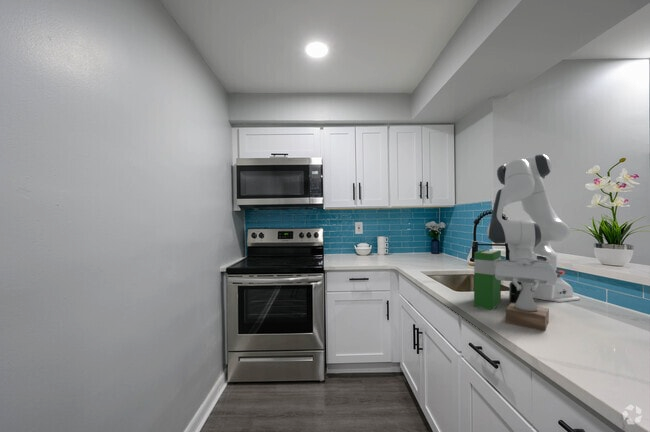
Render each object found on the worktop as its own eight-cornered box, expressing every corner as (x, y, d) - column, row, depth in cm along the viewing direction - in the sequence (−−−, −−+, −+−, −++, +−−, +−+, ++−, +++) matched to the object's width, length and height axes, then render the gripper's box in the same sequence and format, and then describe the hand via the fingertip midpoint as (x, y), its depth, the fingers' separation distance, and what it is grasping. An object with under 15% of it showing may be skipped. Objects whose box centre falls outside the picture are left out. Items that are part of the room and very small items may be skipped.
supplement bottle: (507, 302, 136) (507, 276, 136) (510, 299, 141) (510, 274, 141) (525, 305, 131) (525, 279, 131) (527, 302, 136) (528, 276, 136)
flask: (542, 312, 106) (542, 285, 107) (520, 311, 107) (520, 284, 108) (530, 306, 114) (531, 280, 114) (510, 305, 115) (511, 280, 115)
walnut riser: (511, 314, 119) (511, 302, 119) (548, 321, 111) (548, 308, 111) (505, 322, 110) (505, 309, 110) (545, 330, 102) (545, 316, 102)
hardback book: (483, 298, 143) (483, 249, 144) (500, 300, 139) (500, 250, 139) (474, 306, 130) (474, 252, 130) (492, 309, 125) (493, 254, 125)
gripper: (493, 254, 121) (495, 282, 113) (554, 258, 112) (561, 289, 104) (492, 264, 125) (494, 291, 117) (551, 268, 116) (558, 298, 108)
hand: (526, 290), depth 110 cm, fingers open, 3 cm apart
